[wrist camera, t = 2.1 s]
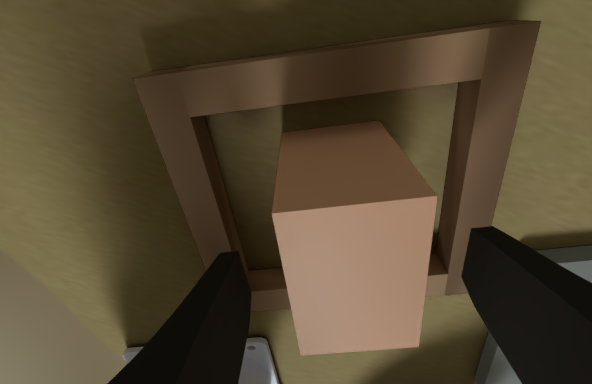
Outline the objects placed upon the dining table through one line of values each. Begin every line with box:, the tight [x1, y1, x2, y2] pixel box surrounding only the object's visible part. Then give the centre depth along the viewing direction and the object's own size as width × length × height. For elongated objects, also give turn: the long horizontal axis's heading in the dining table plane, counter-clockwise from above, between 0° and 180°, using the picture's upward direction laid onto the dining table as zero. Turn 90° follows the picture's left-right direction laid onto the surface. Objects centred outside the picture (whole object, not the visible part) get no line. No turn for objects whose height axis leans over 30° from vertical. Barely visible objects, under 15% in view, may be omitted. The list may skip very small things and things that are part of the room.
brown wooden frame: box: [133, 20, 541, 312], centre depth 13 cm, size 13×12×2 cm
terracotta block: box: [272, 121, 437, 356], centre depth 11 cm, size 4×6×6 cm, turn 7°
